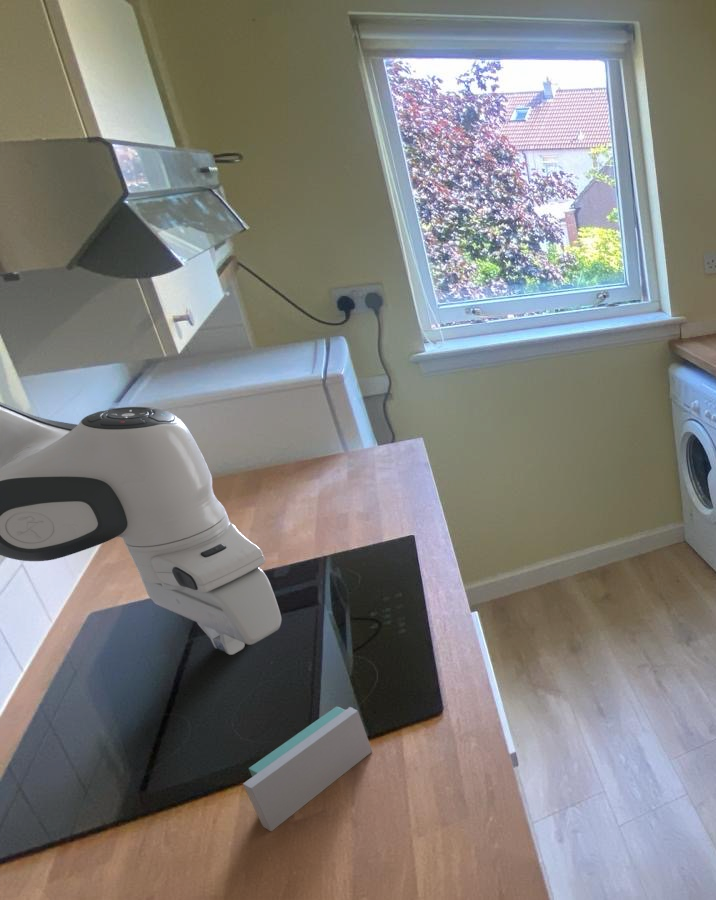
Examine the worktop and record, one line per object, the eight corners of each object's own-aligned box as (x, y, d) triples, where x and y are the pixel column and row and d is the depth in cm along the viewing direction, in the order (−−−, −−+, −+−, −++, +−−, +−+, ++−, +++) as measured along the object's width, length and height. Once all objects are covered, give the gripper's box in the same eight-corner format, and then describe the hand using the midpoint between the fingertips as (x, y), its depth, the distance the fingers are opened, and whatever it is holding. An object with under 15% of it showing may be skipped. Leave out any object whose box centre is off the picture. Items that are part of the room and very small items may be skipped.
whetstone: (271, 831, 85) (250, 788, 82) (247, 817, 87) (226, 774, 84) (372, 751, 96) (357, 710, 93) (349, 740, 97) (334, 699, 95)
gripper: (102, 542, 82) (151, 641, 88) (208, 584, 74) (254, 690, 79) (166, 517, 87) (209, 611, 93) (271, 553, 79) (311, 654, 85)
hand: (230, 648), depth 86 cm, fingers closed
